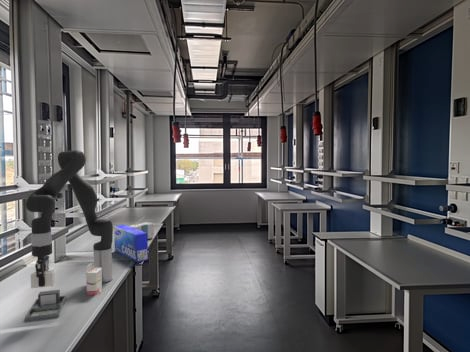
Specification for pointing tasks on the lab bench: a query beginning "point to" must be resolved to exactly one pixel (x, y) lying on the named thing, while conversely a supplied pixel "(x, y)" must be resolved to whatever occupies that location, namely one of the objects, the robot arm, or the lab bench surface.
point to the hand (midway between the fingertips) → (43, 284)
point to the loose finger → (48, 279)
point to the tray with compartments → (45, 310)
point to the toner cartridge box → (131, 243)
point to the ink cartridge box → (93, 280)
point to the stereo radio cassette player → (145, 228)
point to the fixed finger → (49, 297)
